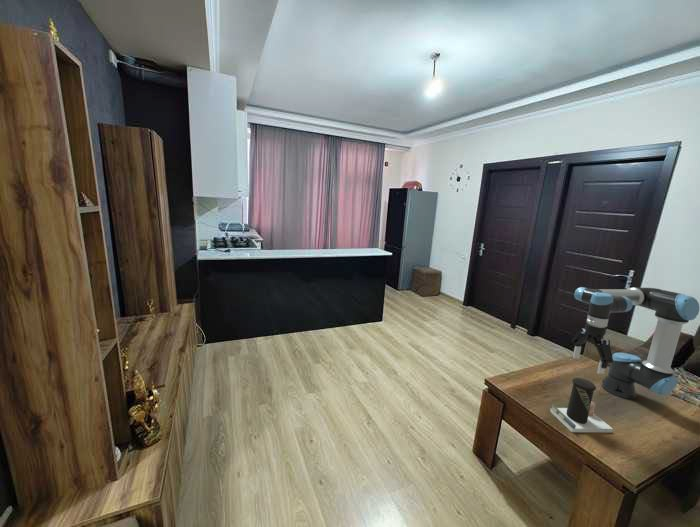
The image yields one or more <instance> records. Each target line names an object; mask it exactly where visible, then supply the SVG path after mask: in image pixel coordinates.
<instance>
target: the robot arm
mask: <svg viewBox="0 0 700 527" xmlns="http://www.w3.org/2000/svg"><path fill="white" fill-rule="evenodd" d="M573 296H574V299H575V300H577V301H579V302H581V303H585V304H587V305H589V308H588V312H587V317H586V323H585V326H584V328H579V330H578V332H577V333H576V335H575V336H573V337H572V339H571V340H570V342H571V343H572V344H573V356H572V359H579V358H580V356H581V351H582V345H584V344H585V343H587V342H589V343H590V344H591V345H594V347H595V348H596V350H597V352H598V354H599V357H600V360H599V362H598V367H597V372H596V374H598V375H604V374H605V370H606V369H607V368H608V364H609V368H608V372H607V375H606V376H604V379H603V380H602V381H601V382H600V383H601V384H600V386H601V388H602V389H604V390H605V391H606V392H607V393H610V394H612V395H614V396H616V397H619V398H623V399H627V400H634V399H635V398H636V397H637V390H636V385H635V383H636V384H637V385H640V386H642V387H643V388H645V389H647V390H650V392H654V393H656V394H658V395H662V396H663V395H664V396H665V395H667V394H669V393H671V392H673V390H675V388H677V385H678V383H679V381H678V378H677V377H676V376H675V375H674V370H673V368H672V367H671V366H672V362H673V360H674V355H675V352H676V349H677V346H678V342H679V339H680V335H681V332H682V328H683V325H685V324H688V323H689V321H693V320H695V319H696V318H697V317H698V315H699V312H700V304H699V301H698V300H697V299H696V297H693V296H690V295H686V294H685V293H679V292H675V291H670V290H665V289H660V288H656V287H655V288H654V287H628V288H626V289H624V288H623V289H621V288H620V289H616V288H614V289H611V288H610V289H609V288H608V289H607V288H606V289H605V288H603V289H602V288H601V289H599V288H598V289H597V288H595V289H594V288H588V287H583V286H580V287H578V288H576V289H575V291H574V294H573ZM634 306H639V307H642V308H645V309H648V310H651V311H655V313H654V316H655V318H656V319H657V322H656V325H655V328H654V332H653V336H652V340H651V344H650V347H649V350H648V356H647V359H646V360H643V361H642V358H640V357H639V356H637V355H634V354H632V353H631V354H630V353H626V352H615V353H612V350H611V345H610V344H611V341H610V339H604V336H605V335H606V332H607V327H608V325H609V324H608V323H609V320H610V316H611V314H612V313H614V314H615V313H626V312H630V311H631V310H632V309H633V307H634Z"/></svg>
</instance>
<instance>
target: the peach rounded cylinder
mask: <svg viewBox="0 0 700 527" xmlns="http://www.w3.org/2000/svg"><path fill="white" fill-rule="evenodd" d="M595 409H596V402H595V401H593V400H592V401H591V405H590V410H589V416H593V413H594V412H595ZM594 414H595V413H594Z"/></svg>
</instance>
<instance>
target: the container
mask: <svg viewBox="0 0 700 527" xmlns="http://www.w3.org/2000/svg"><path fill="white" fill-rule="evenodd" d="M571 381H572V383H573V384H572V388H571V392H570V397H569V400H568V405H567V407H566V408H567V416H568V417H569V418H570V419H572V420H574V421H575V422H578V423H581V424H585V423H587V420H588V415H589V410H590V405H591V401H593V400H592V399H593V395H594V392H595V391H596V389H597V386H596V385H595V384H594V383H593V382H592V381H590V380H587V379H584V378H581V377H574V378H572V380H571Z"/></svg>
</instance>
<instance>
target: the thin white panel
mask: <svg viewBox="0 0 700 527" xmlns="http://www.w3.org/2000/svg"><path fill="white" fill-rule="evenodd" d="M567 408H568V407H557V406H555V405H554V404H551V406H550V410H549V412H550V413H551V414H552V415H553V416H554V417H556V419H557V420H559V421H560V423H561V424H563V425H564V426H565V427H566V428H567V429H568V430H569V431H570V432H571V433H613V430H614V429H613V427H611V426H610V425H609V424H608V423H606V422H605V421H604V420H603V419H602V418H600V417H599V416H597V415H596V414H595V413H593V416H589V415H588V420H587V423H585V424H581V423H578V422H575V421H574V420H572V419H570V418H569V417H568V416H567Z"/></svg>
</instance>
